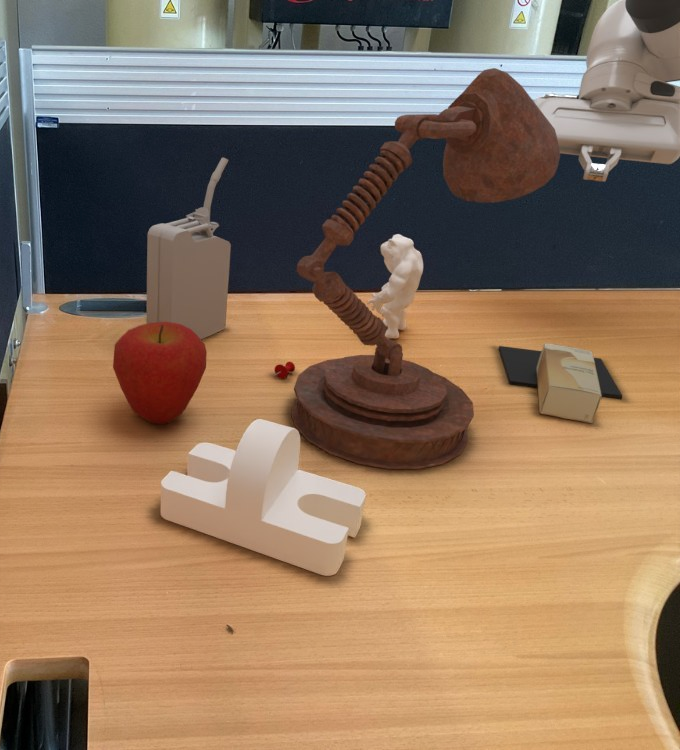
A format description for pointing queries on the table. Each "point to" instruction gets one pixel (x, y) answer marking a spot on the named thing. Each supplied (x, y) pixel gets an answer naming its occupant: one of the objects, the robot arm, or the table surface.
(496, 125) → the desk lamp
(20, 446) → the table surface
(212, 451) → the white u-slot block
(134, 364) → the apple
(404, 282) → the figurine
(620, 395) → the mat
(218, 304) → the gas can
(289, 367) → the pushpin
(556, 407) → the cosmetic box
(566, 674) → the table surface
